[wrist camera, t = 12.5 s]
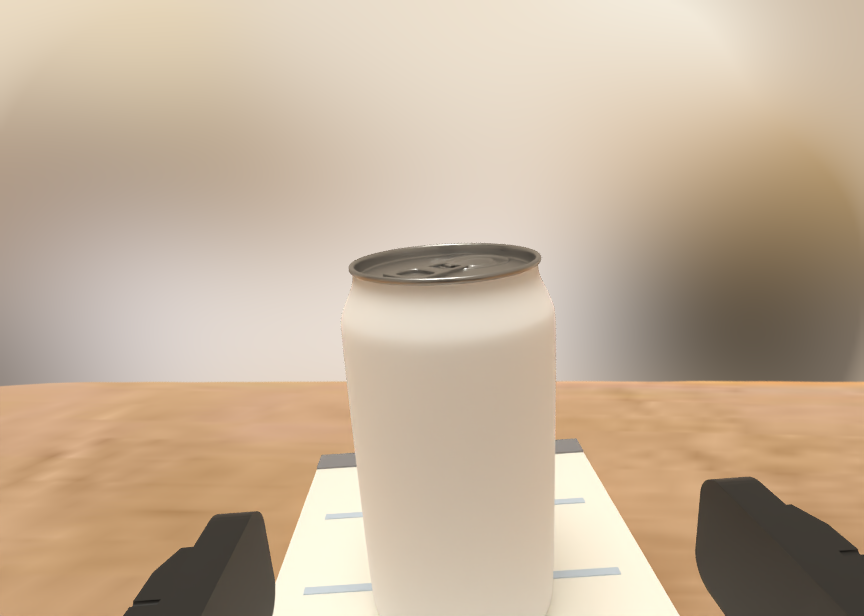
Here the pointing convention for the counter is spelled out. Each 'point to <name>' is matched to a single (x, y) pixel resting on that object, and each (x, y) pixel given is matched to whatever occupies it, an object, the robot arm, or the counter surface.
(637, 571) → the notepad
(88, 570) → the counter surface
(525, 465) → the can
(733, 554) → the robot arm
